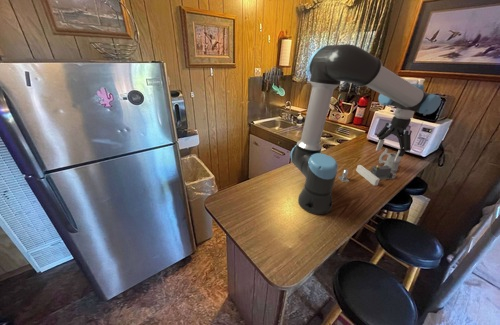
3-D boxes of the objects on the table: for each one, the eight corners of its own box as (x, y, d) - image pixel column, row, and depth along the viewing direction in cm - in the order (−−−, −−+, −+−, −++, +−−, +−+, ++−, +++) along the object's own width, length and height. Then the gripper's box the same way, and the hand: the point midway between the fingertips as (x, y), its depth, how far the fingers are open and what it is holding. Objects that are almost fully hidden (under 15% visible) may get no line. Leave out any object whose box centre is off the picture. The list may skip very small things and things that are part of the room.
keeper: (371, 180, 111) (373, 175, 109) (364, 174, 116) (366, 170, 115) (394, 178, 113) (396, 174, 111) (386, 173, 118) (388, 169, 117)
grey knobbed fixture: (342, 181, 109) (345, 172, 106) (337, 177, 113) (340, 168, 111) (349, 181, 110) (352, 172, 107) (344, 176, 114) (346, 167, 111)
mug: (393, 173, 118) (400, 155, 112) (373, 165, 127) (379, 148, 121) (399, 170, 121) (407, 153, 115) (380, 162, 130) (386, 146, 124)
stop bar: (383, 174, 116) (387, 163, 113) (387, 177, 113) (392, 166, 110) (369, 175, 115) (373, 164, 112) (373, 178, 112) (377, 167, 109)
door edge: (374, 185, 106) (376, 179, 104) (355, 170, 120) (357, 165, 118) (377, 185, 106) (379, 179, 105) (358, 170, 120) (360, 164, 118)
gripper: (377, 111, 108) (365, 146, 118) (418, 124, 86) (399, 166, 96) (389, 111, 109) (377, 146, 119) (432, 124, 88) (412, 166, 97)
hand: (386, 155), depth 108 cm, fingers open, 13 cm apart
